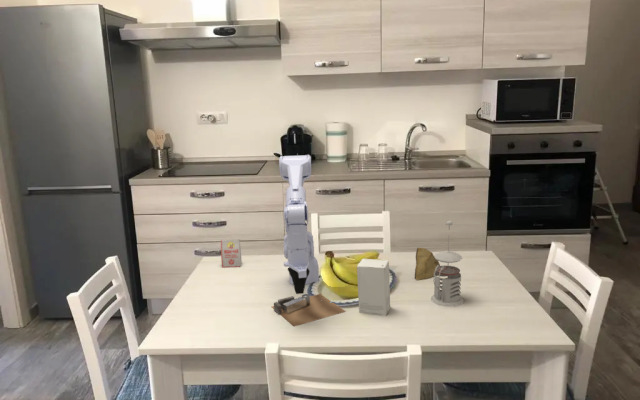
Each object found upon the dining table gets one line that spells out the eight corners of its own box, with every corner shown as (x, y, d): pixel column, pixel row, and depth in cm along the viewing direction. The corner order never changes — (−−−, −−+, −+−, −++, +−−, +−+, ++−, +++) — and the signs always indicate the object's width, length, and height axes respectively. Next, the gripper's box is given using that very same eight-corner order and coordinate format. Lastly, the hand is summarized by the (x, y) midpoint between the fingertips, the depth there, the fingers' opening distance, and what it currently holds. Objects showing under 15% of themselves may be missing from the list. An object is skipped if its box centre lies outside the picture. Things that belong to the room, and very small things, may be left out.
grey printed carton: (223, 264, 195) (221, 238, 193) (241, 263, 195) (240, 238, 193) (222, 267, 191) (220, 241, 189) (240, 267, 192) (238, 241, 189)
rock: (441, 262, 183) (413, 258, 184) (446, 249, 177) (417, 245, 177) (441, 289, 177) (412, 285, 177) (447, 276, 170) (416, 272, 171)
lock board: (320, 296, 164) (320, 286, 163) (346, 314, 151) (345, 303, 150) (270, 310, 155) (269, 299, 155) (292, 330, 143) (292, 318, 142)
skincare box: (390, 309, 153) (390, 259, 150) (385, 319, 147) (385, 267, 144) (363, 306, 156) (362, 257, 152) (357, 316, 150) (356, 265, 146)
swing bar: (306, 302, 158) (306, 293, 157) (311, 304, 156) (311, 295, 155) (282, 311, 152) (282, 302, 151) (287, 314, 150) (287, 305, 149)
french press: (469, 298, 159) (472, 219, 153) (450, 311, 151) (452, 228, 145) (441, 290, 166) (443, 214, 160) (421, 302, 158) (422, 223, 152)
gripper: (279, 240, 149) (281, 284, 152) (286, 256, 135) (289, 305, 139) (303, 238, 151) (305, 282, 154) (313, 254, 137) (315, 302, 140)
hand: (299, 292), depth 146 cm, fingers closed
